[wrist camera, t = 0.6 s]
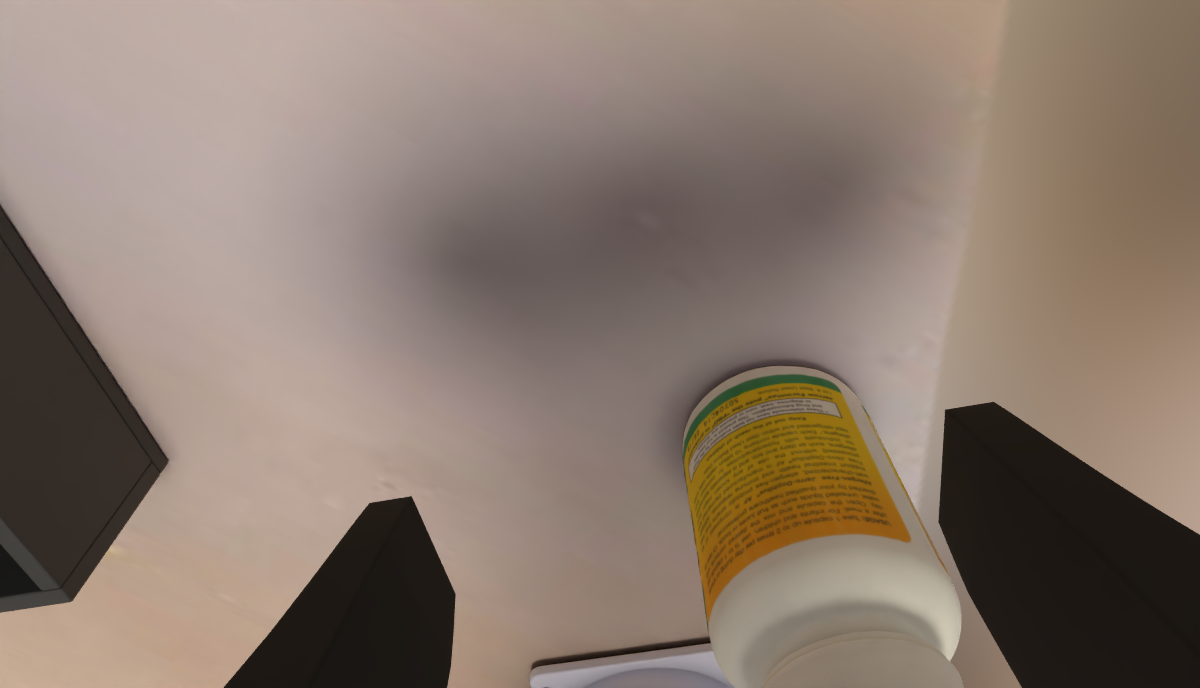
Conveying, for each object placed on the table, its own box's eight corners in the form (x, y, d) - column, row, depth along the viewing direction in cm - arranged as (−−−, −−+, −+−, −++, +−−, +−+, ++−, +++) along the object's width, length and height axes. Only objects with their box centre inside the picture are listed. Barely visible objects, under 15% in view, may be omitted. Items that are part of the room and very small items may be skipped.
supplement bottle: (901, 424, 22) (1085, 751, 14) (765, 526, 24) (856, 861, 16) (776, 322, 20) (906, 633, 12) (640, 442, 22) (671, 775, 14)
